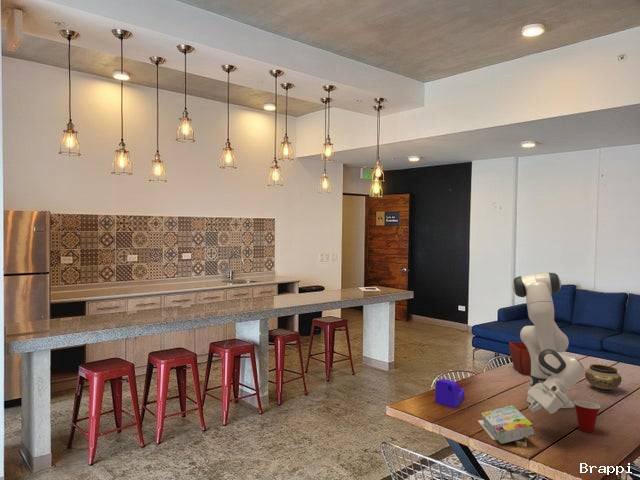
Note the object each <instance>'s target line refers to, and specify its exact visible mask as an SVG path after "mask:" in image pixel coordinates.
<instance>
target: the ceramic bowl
mask: <svg viewBox="0 0 640 480" xmlns="http://www.w3.org/2000/svg"><path fill="white" fill-rule="evenodd" d="M584 376H585V377H584V378H585V379H586V381H587V382H588V383H589V384H590V385H591V386H592V389H594V390H595V391H598V392H601V393H611V392H613V389H616V388H617V387H619V386H620V385H621V383H622V381H623V380H622V376H621V373H619V372H618V369H617V368H616V367H614V366H610V365H606V364H605V365H604V364H599V363H591V364H590V365H589V368H587V369H586V370H585V371H584Z"/></svg>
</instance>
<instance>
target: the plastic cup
mask: <svg viewBox="0 0 640 480" xmlns="http://www.w3.org/2000/svg"><path fill="white" fill-rule="evenodd" d="M573 403H574V406H575V407H574V409H575V413H576V421H577V425H578V426H577V427H578V429H579V431H582V432H586V433H593V432H594V430H595V426H596V423H597V418H598V415H599V412H600V409H601V405H599V404H598V403H595V402H591V401H585V400H574V401H573Z"/></svg>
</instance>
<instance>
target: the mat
mask: <svg viewBox="0 0 640 480" xmlns="http://www.w3.org/2000/svg"><path fill="white" fill-rule="evenodd" d="M477 422H478V423H479V424H480V425H479V426H481V427H482V428H483V430H484V431H485V432H486V433H487V434H488V436H489V437H490V438H491V440H492V441H498V440H497V438H496V437H495V436H494V435H493V434H492V432H491V431H490V430H489V429H488V427H487V426H486V425H485V424H484V422H483V419H482V420H481V419H478V420H477Z"/></svg>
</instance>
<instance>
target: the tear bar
mask: <svg viewBox="0 0 640 480" xmlns="http://www.w3.org/2000/svg"><path fill="white" fill-rule="evenodd" d="M513 443H514V444H515V445H516V446H517V447H527V445H528V444H527V443H528V438H527V437H526V438H523V439H519V440H515V441H513Z"/></svg>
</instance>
